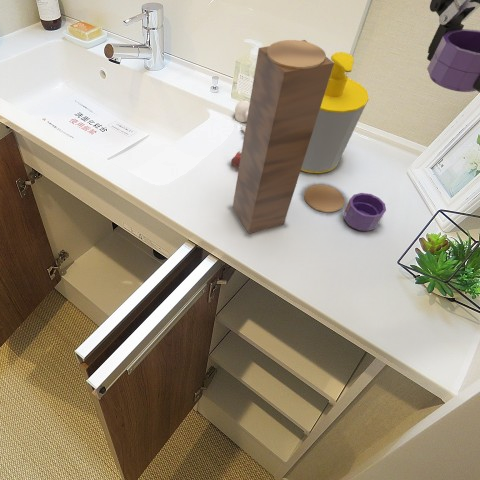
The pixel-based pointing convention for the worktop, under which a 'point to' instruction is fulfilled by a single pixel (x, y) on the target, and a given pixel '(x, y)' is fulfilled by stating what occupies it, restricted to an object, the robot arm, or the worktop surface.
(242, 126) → the rivet
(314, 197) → the coaster back
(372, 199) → the purple cup
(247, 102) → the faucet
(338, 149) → the soap bottle
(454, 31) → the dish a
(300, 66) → the coaster top
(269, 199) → the walnut stand
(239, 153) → the dental model
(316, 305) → the worktop surface
